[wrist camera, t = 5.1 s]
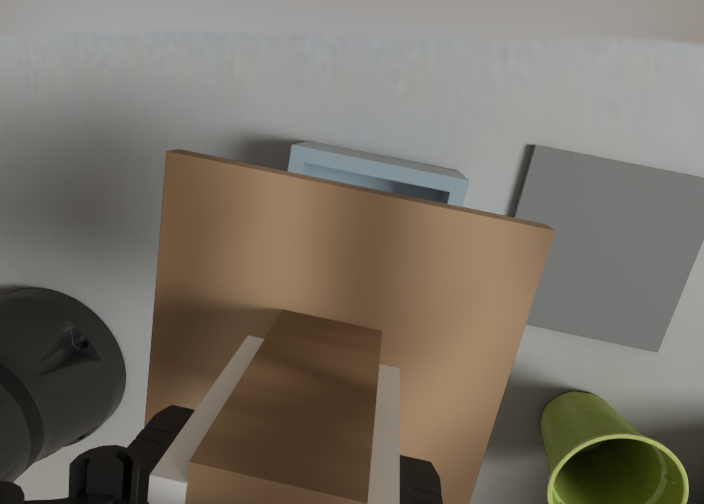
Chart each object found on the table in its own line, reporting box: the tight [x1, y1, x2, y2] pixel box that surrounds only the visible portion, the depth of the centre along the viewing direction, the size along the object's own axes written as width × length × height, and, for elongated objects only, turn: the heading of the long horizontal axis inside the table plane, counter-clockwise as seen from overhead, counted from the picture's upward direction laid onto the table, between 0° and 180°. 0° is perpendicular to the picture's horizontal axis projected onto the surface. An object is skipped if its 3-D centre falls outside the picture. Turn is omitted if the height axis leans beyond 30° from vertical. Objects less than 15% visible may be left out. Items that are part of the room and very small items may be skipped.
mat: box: [513, 145, 704, 352], centre depth 38 cm, size 14×14×1 cm
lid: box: [144, 149, 555, 504], centre depth 14 cm, size 13×13×9 cm
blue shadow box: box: [288, 141, 469, 207], centre depth 37 cm, size 12×12×6 cm
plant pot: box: [540, 391, 689, 504], centre depth 38 cm, size 9×9×9 cm
